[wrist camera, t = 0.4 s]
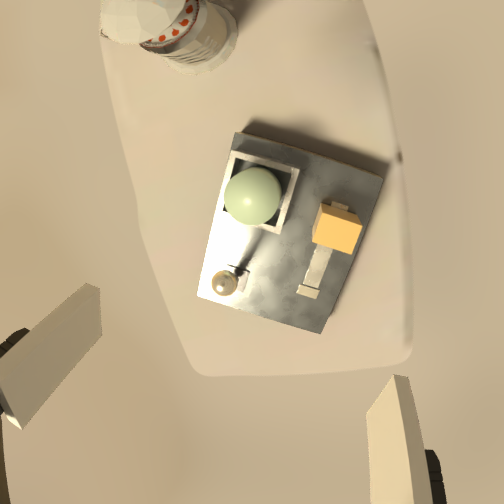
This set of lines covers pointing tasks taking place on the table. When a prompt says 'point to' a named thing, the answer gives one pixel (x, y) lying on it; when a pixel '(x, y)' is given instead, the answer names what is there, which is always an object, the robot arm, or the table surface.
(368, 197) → the panel
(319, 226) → the yellow cube
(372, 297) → the table surface
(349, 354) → the table surface
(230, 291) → the toggle lever
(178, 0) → the french press
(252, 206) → the push button
